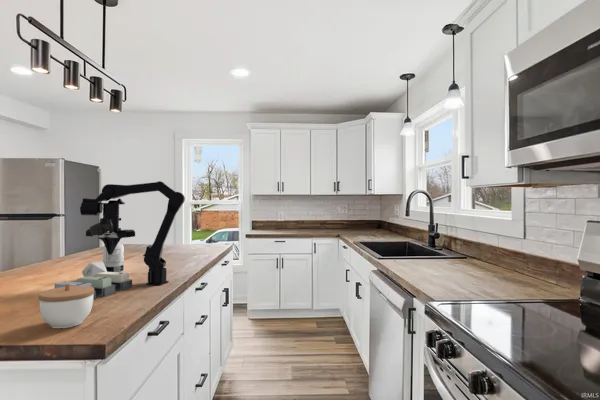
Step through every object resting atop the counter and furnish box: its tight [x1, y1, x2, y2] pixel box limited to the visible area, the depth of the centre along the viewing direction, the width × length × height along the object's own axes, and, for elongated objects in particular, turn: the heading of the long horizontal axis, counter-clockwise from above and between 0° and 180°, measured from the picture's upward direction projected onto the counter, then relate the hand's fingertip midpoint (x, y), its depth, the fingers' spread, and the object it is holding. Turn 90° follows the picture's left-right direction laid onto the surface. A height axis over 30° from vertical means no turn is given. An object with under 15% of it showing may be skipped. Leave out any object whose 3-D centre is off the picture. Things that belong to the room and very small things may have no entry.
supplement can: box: [102, 242, 125, 273], centre depth 153 cm, size 8×8×15 cm
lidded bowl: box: [38, 284, 94, 329], centre depth 95 cm, size 13×13×11 cm
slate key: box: [54, 281, 92, 288], centre depth 117 cm, size 11×4×6 cm, turn 77°
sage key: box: [76, 276, 111, 288], centre depth 126 cm, size 11×4×6 cm, turn 77°
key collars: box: [93, 278, 133, 301], centre depth 126 cm, size 13×24×3 cm, turn 167°
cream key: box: [97, 272, 130, 282], centre depth 135 cm, size 11×4×6 cm, turn 77°
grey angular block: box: [81, 261, 107, 277], centre depth 145 cm, size 8×9×10 cm
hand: (110, 254), depth 138 cm, fingers closed
